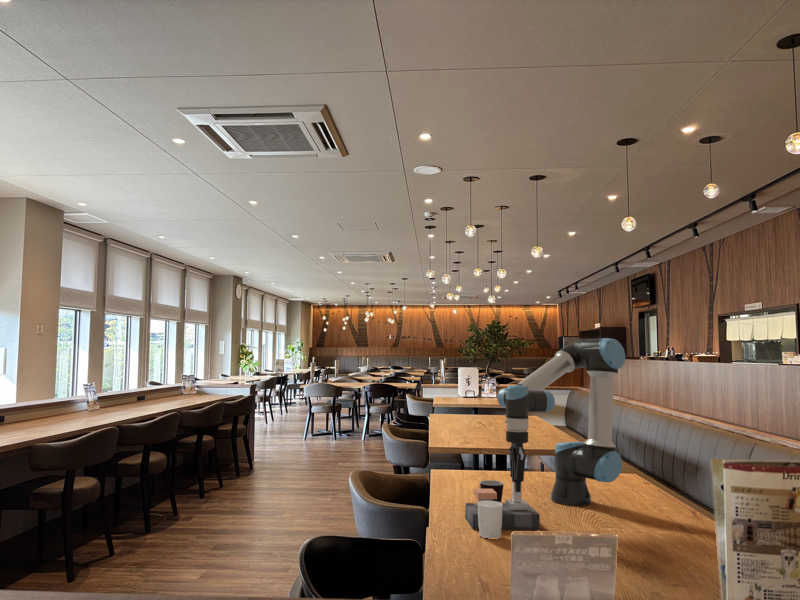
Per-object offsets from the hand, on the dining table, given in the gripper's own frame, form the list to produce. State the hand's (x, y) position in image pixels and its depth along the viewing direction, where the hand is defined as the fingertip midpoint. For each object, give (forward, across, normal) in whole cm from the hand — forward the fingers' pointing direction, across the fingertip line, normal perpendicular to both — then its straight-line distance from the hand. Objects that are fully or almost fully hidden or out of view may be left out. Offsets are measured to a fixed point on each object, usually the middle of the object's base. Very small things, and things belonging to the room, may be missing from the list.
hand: (516, 501), depth 190 cm
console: (+8, 0, -5) cm, 9 cm away
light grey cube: (+6, 0, 0) cm, 6 cm away
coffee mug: (+8, -18, -4) cm, 20 cm away
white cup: (+8, +14, -12) cm, 20 cm away
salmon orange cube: (+3, 0, -11) cm, 11 cm away
